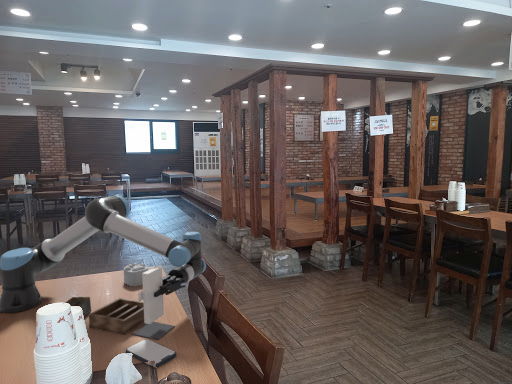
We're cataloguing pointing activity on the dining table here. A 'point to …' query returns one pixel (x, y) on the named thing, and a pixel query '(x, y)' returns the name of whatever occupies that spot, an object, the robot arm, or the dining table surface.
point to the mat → (153, 330)
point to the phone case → (151, 352)
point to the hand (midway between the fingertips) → (143, 297)
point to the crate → (118, 316)
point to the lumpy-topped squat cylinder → (134, 274)
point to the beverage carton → (81, 303)
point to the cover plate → (155, 306)
